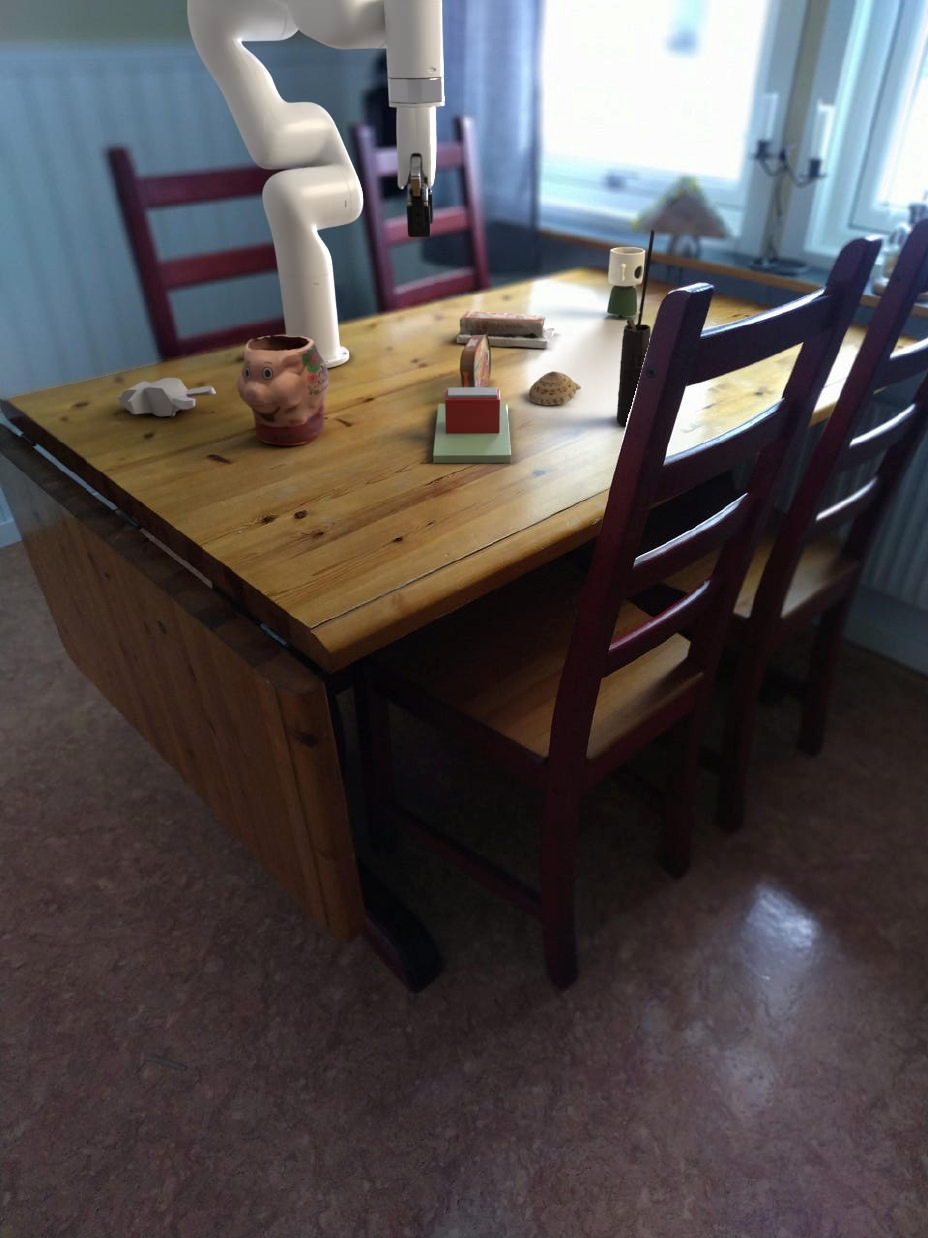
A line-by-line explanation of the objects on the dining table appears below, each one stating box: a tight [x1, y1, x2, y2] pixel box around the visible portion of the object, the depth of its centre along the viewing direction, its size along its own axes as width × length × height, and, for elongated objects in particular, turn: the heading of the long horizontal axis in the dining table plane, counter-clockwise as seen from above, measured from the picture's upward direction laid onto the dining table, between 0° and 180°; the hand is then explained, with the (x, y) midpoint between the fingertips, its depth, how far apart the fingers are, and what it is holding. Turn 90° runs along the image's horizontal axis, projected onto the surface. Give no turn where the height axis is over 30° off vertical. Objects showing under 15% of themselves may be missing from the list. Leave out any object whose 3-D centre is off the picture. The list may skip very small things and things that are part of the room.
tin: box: [459, 334, 492, 388], centre depth 142 cm, size 15×3×8 cm, turn 168°
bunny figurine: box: [117, 377, 217, 418], centre depth 136 cm, size 10×5×15 cm
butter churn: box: [616, 229, 655, 428], centre depth 125 cm, size 9×10×28 cm
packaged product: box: [456, 310, 555, 349], centre depth 166 cm, size 18×5×10 cm
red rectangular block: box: [444, 386, 501, 434], centre depth 126 cm, size 4×8×6 cm, turn 89°
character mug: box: [606, 246, 646, 318], centre depth 177 cm, size 11×7×13 cm, turn 161°
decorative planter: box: [236, 334, 330, 446], centre depth 127 cm, size 20×12×14 cm, turn 168°
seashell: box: [527, 371, 582, 406], centre depth 141 cm, size 8×6×8 cm
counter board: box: [432, 403, 512, 464], centre depth 128 cm, size 11×20×1 cm, turn 179°
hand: (421, 229), depth 125 cm, fingers open, 9 cm apart
